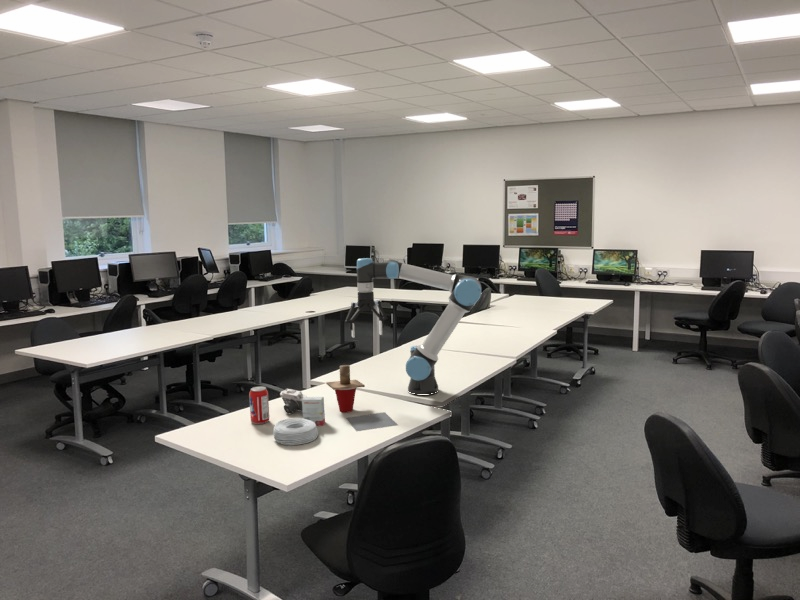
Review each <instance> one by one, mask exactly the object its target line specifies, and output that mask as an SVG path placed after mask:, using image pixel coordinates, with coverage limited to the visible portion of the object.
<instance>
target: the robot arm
mask: <svg viewBox="0 0 800 600" xmlns="http://www.w3.org/2000/svg"><path fill="white" fill-rule="evenodd" d="M356 279H357V281H356V284H357V302H353V301H352V302H350V308H349V310H348V312H347V315H346V317H345V320H344V321H345V322H346V323H347V324H348V326H349V329H348V330H349V331H351V337H352V338H353V339H354V338H356V337H355V333H356V332H355V323H354V322H355V321H356V319H357V318H358V316H359V315H360V314H361V313H362V312H370V311H371V312H372V313H373V314H375V316H376V317H377V318H378V319H379V320H378V334H379V335H380V336H383V328H384V327H385V321H386V320H388V316H387V313H386V312H385V310H384V308H383V306H382V304H381V301H380V300H378V299H377V300H376V301H375V296H374V279H375V280H377V279H378V280H379V279H387V280H391V279H401V280H406V281H410V282H414V283H417V284H422V285H425V286H429V287H434V288H437V289H442V290H446V291H449V293H450V295H449V296H448V304H447V305H446V307H445V309H444V310H443V312H442V313H441V315H440V316H439V318H438V320H437V321H436V323H435V325H433V327H432V329H431V331H429V333H428V335H427V336H426V338H425V340H424V341H423V343H422V344H420V345H413V346H411V347H410V351H409V353H410V356H409V358H408V359H407V360H406V363H405V371H406V374H407V376H408V377H409V379H410V380H409V383H408V386H407V392H408V391H409V392H411V393H415V394H431V393H435V392H437V391H438V392H439V385H438V382H437V379H436V375H435V374H436V373H435V365H436V364H437V363H438V360H439V357H438V355H439V354H440V352H441V350H442V349H443V347H444V346H445V344H446V343H447V341H448V340H449V338H450V337H451V335H452V334H453V332H454V330H455V329H456V327H458V324H459V323H460V321H461V320H462V318H463V316H464V315H465V314H467V313H470V312H471V311H472V309H473V307H474V306H475V305H476V304H477V302H478V301H479V300H480V298H481V296H482V283H481V282H480V280H479V279H478V278H476V277H474V276H470V275H464V274H458V273H454V274H449V273H445V272H441V271H436V270H432V269H429V268H424V267H420V266H416V265H414V264H413V265H411V264H408V263H403V262H398V261H397V260H394V259H389V260H386V261H385V262H374V261H373V258H371V257H370V258H369V257H366V258H365V257H363V258H358V259H357V260H356ZM374 306H377V308H378V310H379V311H380V313H381V314H380V313H379V312H378V311H377V310H376V308H374ZM356 307H358V308H357V309H356V311H355V308H356ZM354 311H355V312H354ZM409 392H408V393H409Z"/></svg>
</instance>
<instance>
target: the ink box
mask: <svg viewBox="0 0 800 600" xmlns="http://www.w3.org/2000/svg"><path fill="white" fill-rule="evenodd" d="M302 410H303V412H302V419H307V420H310V421H312V422H314V423H315V424H316V426H319V427H320V426H321V427H324V426H325V424H326V416H325V415H326V413H325V398H324V396H307V397H304V398H303V400H302Z"/></svg>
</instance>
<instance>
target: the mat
mask: <svg viewBox="0 0 800 600" xmlns="http://www.w3.org/2000/svg"><path fill="white" fill-rule="evenodd" d="M345 419H346V420H347V422H348V423H349V424H350V425H351V426H352V427H353V429H354V430H355V431H356V432H361V431H368V430H374V429H375V430H376V429H381V428H382V429H383V428H389V427H395V426H399V424H398V423H397V422H396V421H395V420H393V419H392V418H391V417H390V415H388V414H387V413H386V411H385V412H376V413H369V414H363V415H357V416H355V415H354V416H348V417H345Z"/></svg>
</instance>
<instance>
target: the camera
mask: <svg viewBox="0 0 800 600" xmlns="http://www.w3.org/2000/svg"><path fill="white" fill-rule="evenodd" d="M279 395H280V397H281V399H282V401H283V403H284V405H283V409H284V412H285V413H287V414H289V415H293V413H295V412H296V411H297V412H298V411H299V412H302V413H303V410H302V400H303V398H304V397H308V396H307V395H306V394H303V392H302V391H301V390H296V389H292V388H285V389H284V390H281V392H280V393H279Z"/></svg>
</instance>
